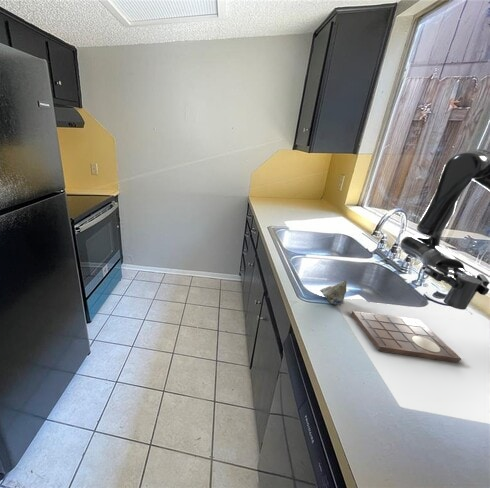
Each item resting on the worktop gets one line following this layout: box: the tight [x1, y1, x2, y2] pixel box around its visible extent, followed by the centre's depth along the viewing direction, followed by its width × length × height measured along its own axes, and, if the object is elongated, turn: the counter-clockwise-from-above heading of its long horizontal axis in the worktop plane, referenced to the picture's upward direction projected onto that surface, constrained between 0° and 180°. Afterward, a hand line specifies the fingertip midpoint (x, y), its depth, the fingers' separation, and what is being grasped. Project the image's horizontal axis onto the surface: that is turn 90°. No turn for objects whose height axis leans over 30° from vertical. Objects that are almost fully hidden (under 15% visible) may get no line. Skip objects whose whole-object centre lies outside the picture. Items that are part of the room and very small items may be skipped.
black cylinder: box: [443, 275, 482, 311], centre depth 75 cm, size 5×5×9 cm
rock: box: [319, 279, 348, 305], centre depth 92 cm, size 11×6×10 cm
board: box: [350, 310, 462, 364], centre depth 78 cm, size 20×16×2 cm
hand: (472, 289), depth 72 cm, fingers closed on black cylinder, 5 cm apart
